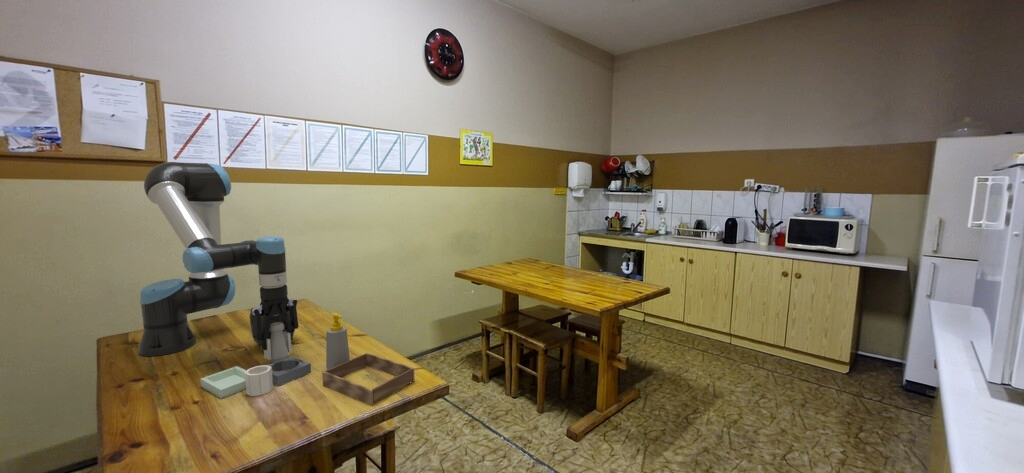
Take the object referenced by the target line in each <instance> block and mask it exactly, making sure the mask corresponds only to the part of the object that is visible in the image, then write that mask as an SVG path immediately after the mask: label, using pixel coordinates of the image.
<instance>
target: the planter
mask: <svg viewBox="0 0 1024 473" xmlns="http://www.w3.org/2000/svg"><path fill="white" fill-rule="evenodd" d="M285 309H286V311H287V315H288V318H289V320H290V315H289V305H288V304H287V306H286V308H285ZM261 312H262V313H261V314H260V315H261V328H262V324H263V319H264V317H263V316H264V311H263V310H261ZM275 322H282V320H281V318H280V315H279V314H275V315H274V316H273V319H272V321H271V324H272V323H275ZM249 323H250V332H251V335H252V339H253V341H254V343H255V344H256V345H257V346H260V347H261V344H260V340H256V339H254V338H253V315H252V313H251V311H250V312H249ZM282 323H283V322H282ZM282 331H283V332H287V331H286V329H285V327H284V329H283V330H282ZM271 333H272V332H270V331H269V333H268V338H267V339H271ZM283 335H284V333H283ZM294 335H295V332H294V333H293V336H294Z"/></svg>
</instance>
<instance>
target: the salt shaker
mask: <svg viewBox="0 0 1024 473" xmlns="http://www.w3.org/2000/svg"><path fill="white" fill-rule="evenodd" d="M283 329H284V324H283V323H282V322H275V323H272V324H271V325H270V329H269V331H270V332H272V333H271V339H270V346H271V359H270V360H269V362H270V364H271V363H274V362H277V361H279V360H282V359H285V358H288V357H289V352H288V349H287V346H286V342H285V338H284V335H283V331H282V330H283Z"/></svg>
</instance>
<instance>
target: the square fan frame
mask: <svg viewBox="0 0 1024 473" xmlns="http://www.w3.org/2000/svg"><path fill="white" fill-rule="evenodd" d="M267 365H268V366H270V367H272V379H273V386H274V385H275V386H277V387H279V386H282V385H285V384H287V383H289V382H291V381H294V380H297V379H300V378H301V377H304V376H307V375H308V374H311V373H312V370H311V369H312V368H311V366H312V365H311V362H308V361H306V360H304V359H301V358H297V357H296V356H293V355H291V356H290V355H289V356H288V357H287V358H285V359H282V360H279V361H277V362H274V363H271V362H270V363H269V364H267Z"/></svg>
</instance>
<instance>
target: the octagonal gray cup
mask: <svg viewBox="0 0 1024 473" xmlns="http://www.w3.org/2000/svg"><path fill="white" fill-rule="evenodd" d="M245 385H246V389H245V394H246V395H248V396H249V397H257V396H263V395H265V394H267V393H269V392H271V391H272V389H273V388H274V384H273V379H272V367H270V366H268V364H263V365H256V366H254V367H250V368H248V369H247V371H246V372H245Z"/></svg>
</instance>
